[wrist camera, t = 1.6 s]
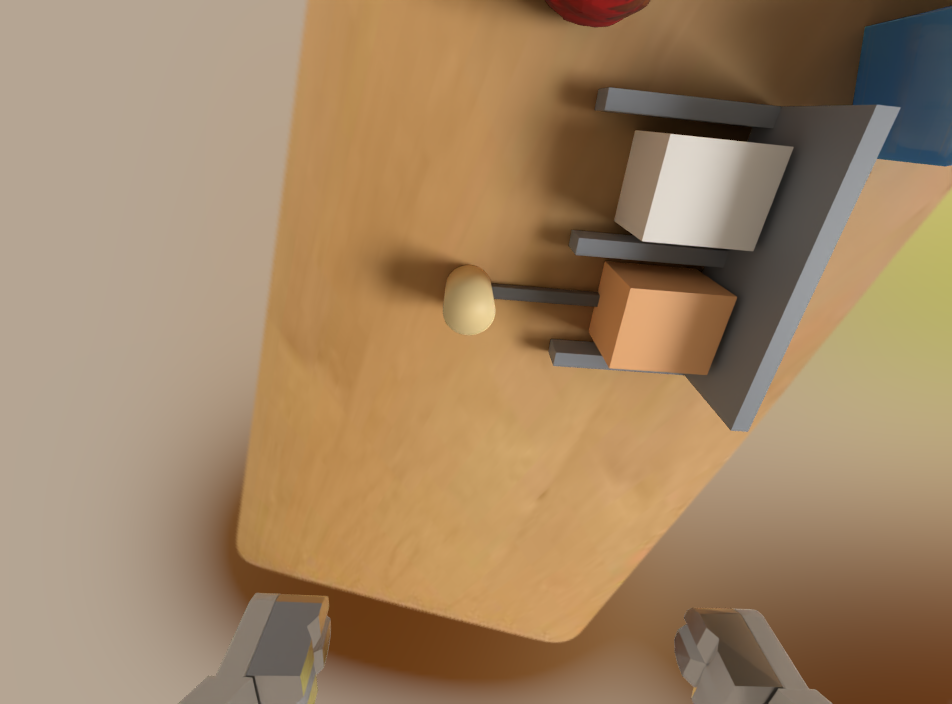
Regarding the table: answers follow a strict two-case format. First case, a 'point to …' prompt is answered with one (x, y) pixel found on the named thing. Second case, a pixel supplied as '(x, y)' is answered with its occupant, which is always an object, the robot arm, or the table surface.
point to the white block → (699, 189)
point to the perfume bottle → (911, 84)
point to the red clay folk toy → (596, 10)
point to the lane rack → (780, 242)
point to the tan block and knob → (617, 313)
